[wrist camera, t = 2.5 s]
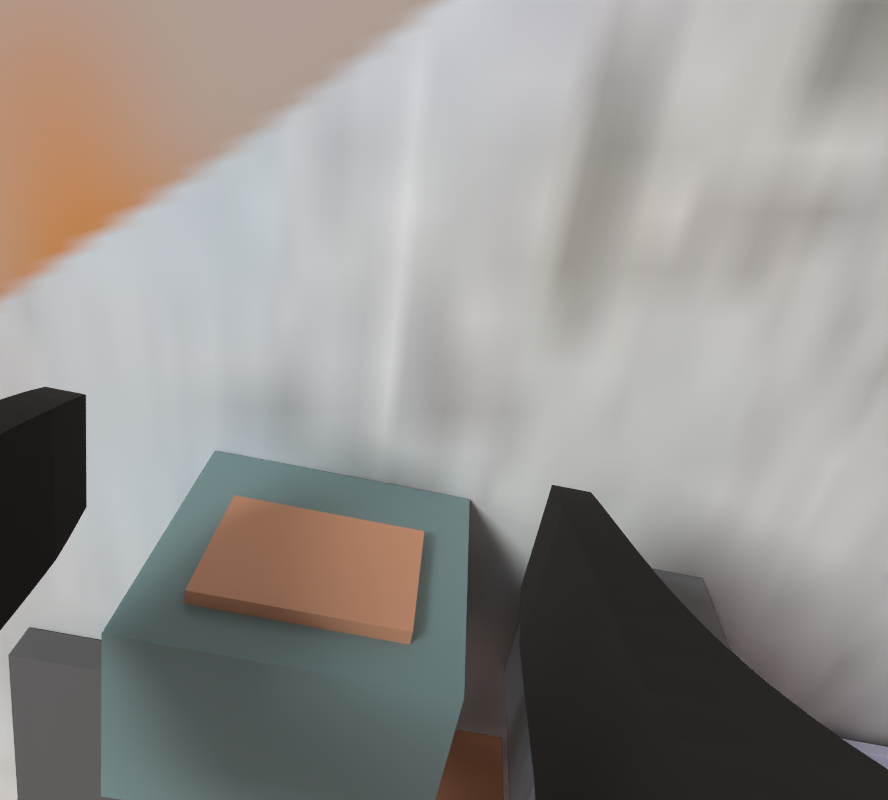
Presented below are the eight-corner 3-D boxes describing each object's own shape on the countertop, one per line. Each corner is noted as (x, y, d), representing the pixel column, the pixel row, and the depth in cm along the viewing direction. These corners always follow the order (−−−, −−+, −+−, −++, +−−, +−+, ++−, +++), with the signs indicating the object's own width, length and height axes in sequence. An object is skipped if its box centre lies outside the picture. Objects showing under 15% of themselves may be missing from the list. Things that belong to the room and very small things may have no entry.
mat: (254, 668, 21) (243, 697, 20) (236, 813, 24) (227, 844, 23) (29, 627, 21) (8, 655, 20) (36, 779, 23) (18, 809, 22)
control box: (472, 488, 18) (467, 685, 13) (432, 645, 20) (414, 870, 15) (215, 439, 18) (102, 619, 13) (202, 603, 20) (100, 817, 15)
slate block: (701, 577, 19) (769, 747, 15) (651, 694, 21) (697, 879, 16) (541, 546, 19) (560, 710, 15) (504, 668, 21) (510, 847, 16)
